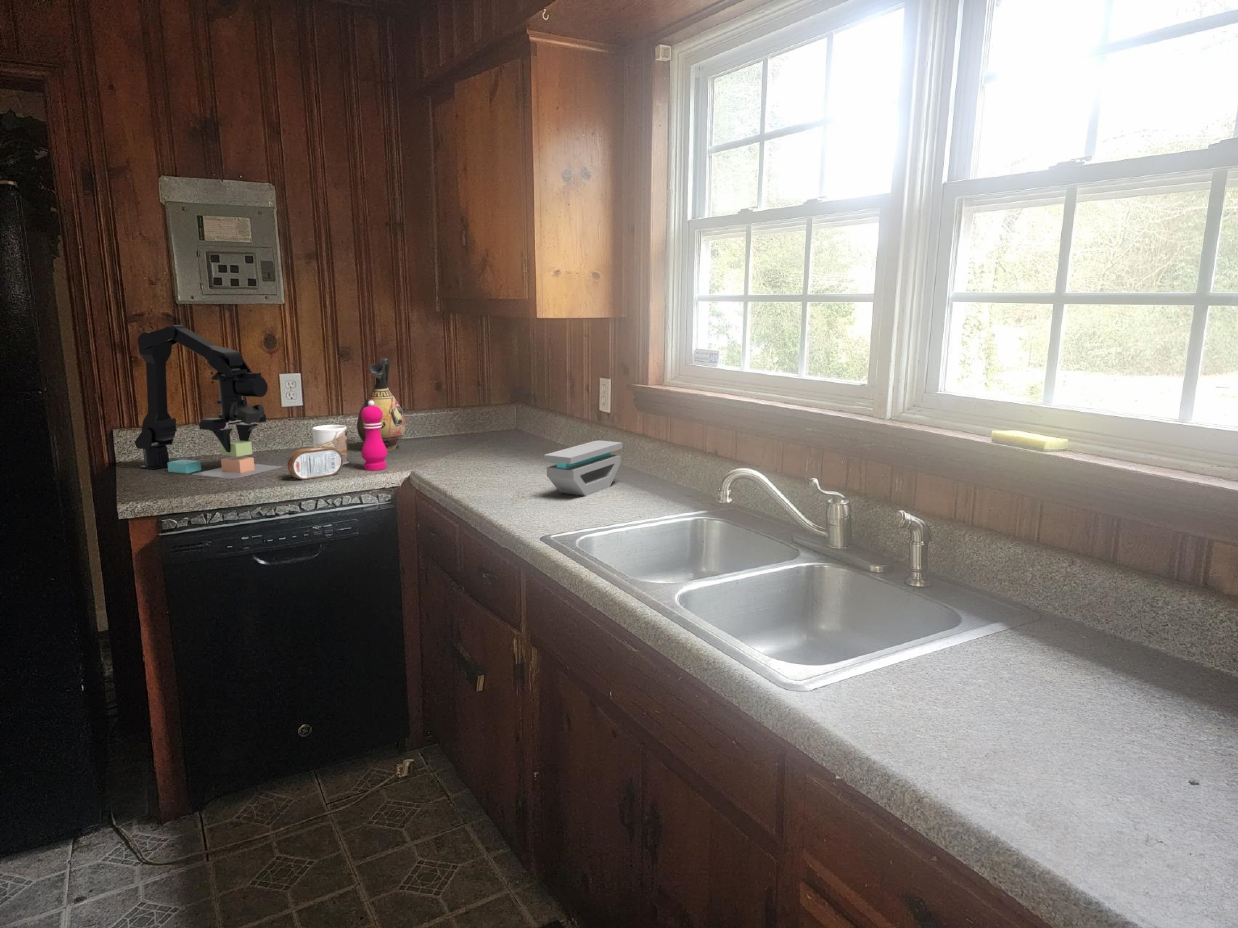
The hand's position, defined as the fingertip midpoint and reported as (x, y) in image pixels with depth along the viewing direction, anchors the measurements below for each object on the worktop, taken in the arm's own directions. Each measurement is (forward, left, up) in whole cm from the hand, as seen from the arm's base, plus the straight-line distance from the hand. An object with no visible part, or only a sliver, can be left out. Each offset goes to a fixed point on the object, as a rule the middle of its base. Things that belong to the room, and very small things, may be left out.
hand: (236, 450), depth 230 cm
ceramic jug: (+14, +47, -7) cm, 49 cm away
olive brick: (0, 0, -1) cm, 1 cm away
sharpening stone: (+102, +16, -7) cm, 103 cm away
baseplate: (0, 0, -6) cm, 6 cm away
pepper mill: (+33, +19, -7) cm, 39 cm away
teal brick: (-14, -6, -7) cm, 17 cm away
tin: (+26, +3, -7) cm, 27 cm away
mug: (+15, +22, -7) cm, 27 cm away
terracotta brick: (0, 0, -6) cm, 6 cm away
